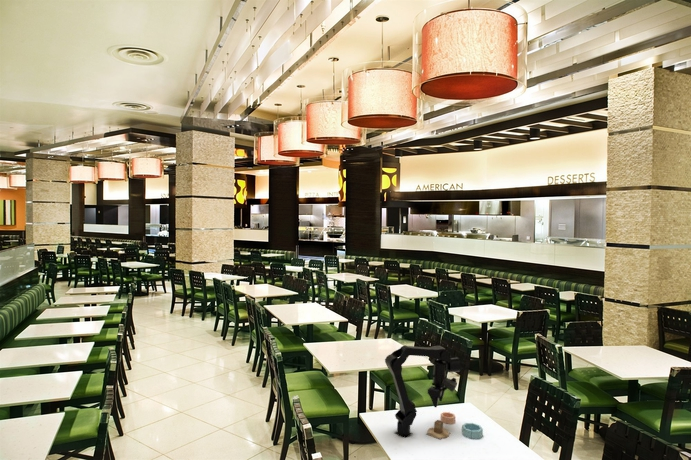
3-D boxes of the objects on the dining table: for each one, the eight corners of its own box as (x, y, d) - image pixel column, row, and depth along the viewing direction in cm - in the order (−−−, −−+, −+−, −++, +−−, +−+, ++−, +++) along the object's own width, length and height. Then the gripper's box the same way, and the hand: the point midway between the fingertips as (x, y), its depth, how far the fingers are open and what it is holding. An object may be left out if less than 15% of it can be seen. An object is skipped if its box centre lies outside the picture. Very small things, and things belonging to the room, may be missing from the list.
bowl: (476, 441, 216) (476, 433, 216) (459, 435, 222) (459, 427, 222) (484, 435, 223) (485, 427, 223) (467, 429, 229) (468, 421, 229)
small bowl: (450, 426, 232) (450, 419, 232) (438, 421, 237) (438, 414, 237) (457, 421, 237) (457, 415, 237) (445, 417, 242) (445, 411, 242)
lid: (442, 440, 215) (442, 428, 215) (423, 433, 222) (424, 421, 222) (452, 433, 223) (453, 421, 223) (434, 427, 230) (435, 415, 229)
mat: (440, 440, 216) (440, 439, 216) (425, 435, 221) (425, 434, 221) (450, 433, 224) (451, 433, 224) (436, 428, 229) (436, 427, 229)
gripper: (451, 381, 214) (449, 414, 215) (460, 370, 231) (458, 401, 231) (428, 376, 219) (426, 409, 220) (438, 366, 236) (437, 396, 236)
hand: (438, 404), depth 227 cm, fingers open, 9 cm apart
